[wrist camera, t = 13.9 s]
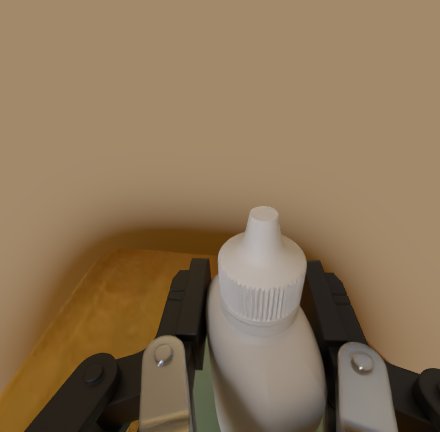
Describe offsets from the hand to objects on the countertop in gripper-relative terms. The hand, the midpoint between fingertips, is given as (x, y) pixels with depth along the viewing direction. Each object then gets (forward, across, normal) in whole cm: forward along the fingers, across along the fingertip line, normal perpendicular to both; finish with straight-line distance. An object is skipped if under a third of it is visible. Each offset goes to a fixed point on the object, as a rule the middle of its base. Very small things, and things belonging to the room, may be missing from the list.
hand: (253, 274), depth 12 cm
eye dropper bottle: (-3, 0, +7) cm, 8 cm away
